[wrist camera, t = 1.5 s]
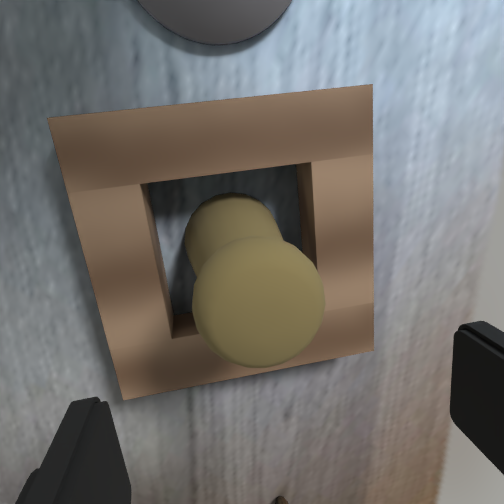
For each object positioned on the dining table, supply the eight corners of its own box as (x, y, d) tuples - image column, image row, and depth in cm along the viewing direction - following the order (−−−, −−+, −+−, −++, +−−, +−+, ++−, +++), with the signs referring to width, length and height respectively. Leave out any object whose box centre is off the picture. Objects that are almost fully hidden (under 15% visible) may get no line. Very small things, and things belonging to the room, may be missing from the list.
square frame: (67, 121, 19) (46, 117, 17) (348, 91, 21) (372, 84, 19) (131, 370, 24) (123, 400, 22) (354, 328, 26) (373, 350, 24)
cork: (224, 301, 24) (251, 423, 14) (163, 234, 22) (140, 317, 12) (296, 245, 24) (378, 327, 13) (240, 172, 22) (287, 201, 11)
